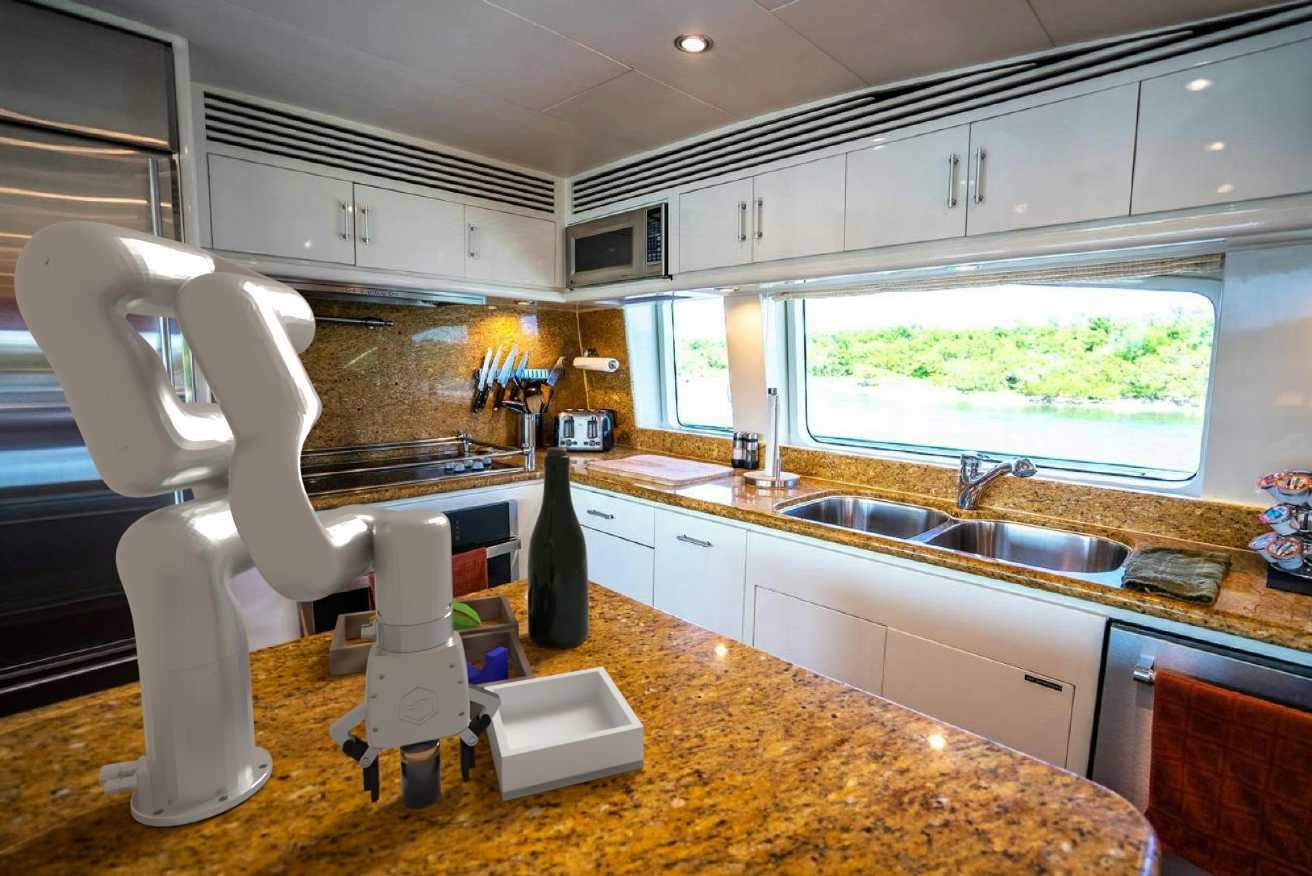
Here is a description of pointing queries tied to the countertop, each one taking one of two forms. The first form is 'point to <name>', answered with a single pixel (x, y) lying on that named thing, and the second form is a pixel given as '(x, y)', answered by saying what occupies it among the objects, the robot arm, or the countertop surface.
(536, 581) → the dark green wine bottle
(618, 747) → the bin
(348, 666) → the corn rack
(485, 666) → the cable clip
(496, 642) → the brown hollow square frame
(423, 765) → the battery cell
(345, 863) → the countertop surface
